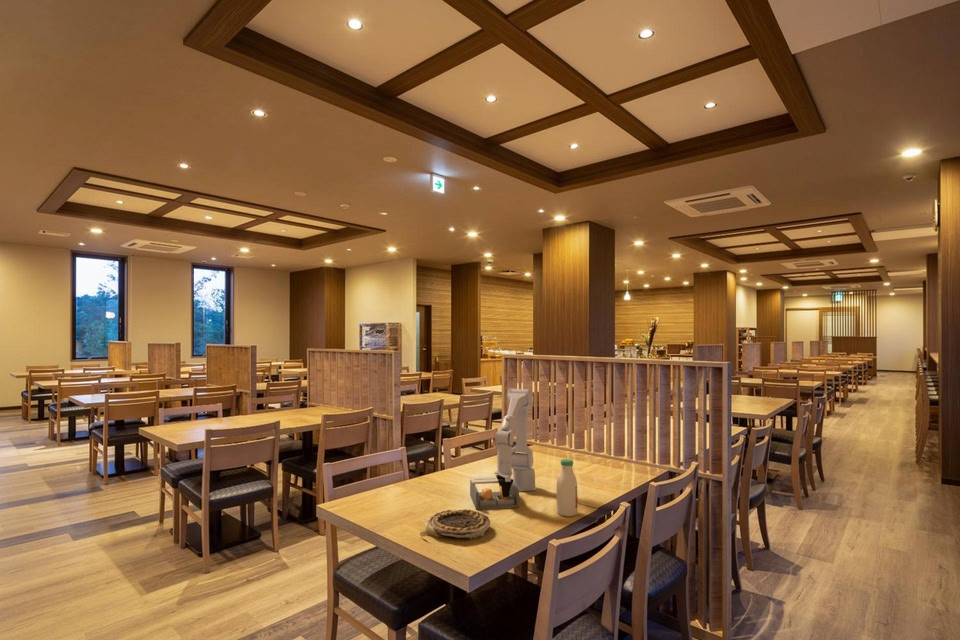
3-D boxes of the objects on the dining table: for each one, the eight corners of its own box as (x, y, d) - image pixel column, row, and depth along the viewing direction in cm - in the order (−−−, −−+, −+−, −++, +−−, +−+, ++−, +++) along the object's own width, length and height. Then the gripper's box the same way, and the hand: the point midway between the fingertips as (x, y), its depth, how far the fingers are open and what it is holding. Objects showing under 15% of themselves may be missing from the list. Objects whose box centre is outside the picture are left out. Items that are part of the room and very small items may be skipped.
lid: (509, 477, 214) (509, 475, 214) (512, 482, 206) (512, 480, 206) (470, 479, 211) (470, 477, 211) (472, 484, 204) (472, 481, 204)
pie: (478, 513, 190) (478, 500, 190) (515, 540, 166) (515, 525, 166) (407, 525, 178) (408, 511, 178) (436, 556, 153) (437, 540, 153)
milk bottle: (572, 518, 184) (572, 463, 184) (553, 514, 188) (553, 460, 189) (580, 512, 190) (580, 459, 191) (561, 508, 194) (561, 456, 195)
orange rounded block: (508, 497, 202) (508, 484, 202) (510, 500, 198) (510, 487, 198) (498, 497, 201) (498, 485, 201) (500, 501, 197) (500, 488, 197)
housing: (509, 493, 213) (509, 477, 214) (519, 507, 195) (519, 490, 196) (470, 495, 211) (470, 479, 211) (476, 509, 193) (476, 492, 193)
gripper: (491, 456, 206) (491, 490, 206) (498, 465, 192) (498, 501, 192) (508, 456, 207) (508, 489, 207) (515, 464, 193) (515, 500, 193)
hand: (504, 495), depth 199 cm, fingers closed on orange rounded block, 4 cm apart
